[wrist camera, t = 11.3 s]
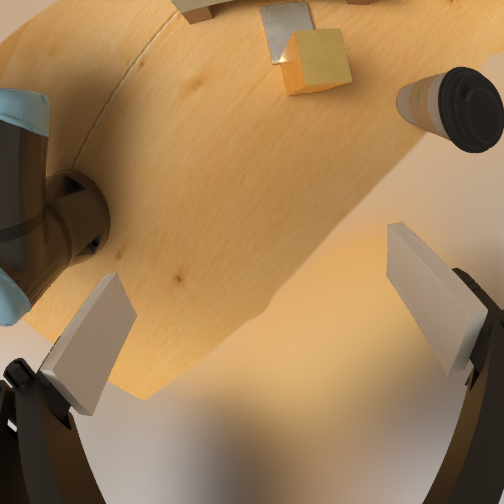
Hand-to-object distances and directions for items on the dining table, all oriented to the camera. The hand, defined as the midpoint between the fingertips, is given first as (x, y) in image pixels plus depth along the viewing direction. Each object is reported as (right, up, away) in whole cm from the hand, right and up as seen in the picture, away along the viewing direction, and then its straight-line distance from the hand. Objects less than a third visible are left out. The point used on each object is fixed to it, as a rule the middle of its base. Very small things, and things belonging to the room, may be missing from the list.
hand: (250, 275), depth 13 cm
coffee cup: (+23, +22, +19) cm, 37 cm away
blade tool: (+5, +27, +16) cm, 32 cm away
